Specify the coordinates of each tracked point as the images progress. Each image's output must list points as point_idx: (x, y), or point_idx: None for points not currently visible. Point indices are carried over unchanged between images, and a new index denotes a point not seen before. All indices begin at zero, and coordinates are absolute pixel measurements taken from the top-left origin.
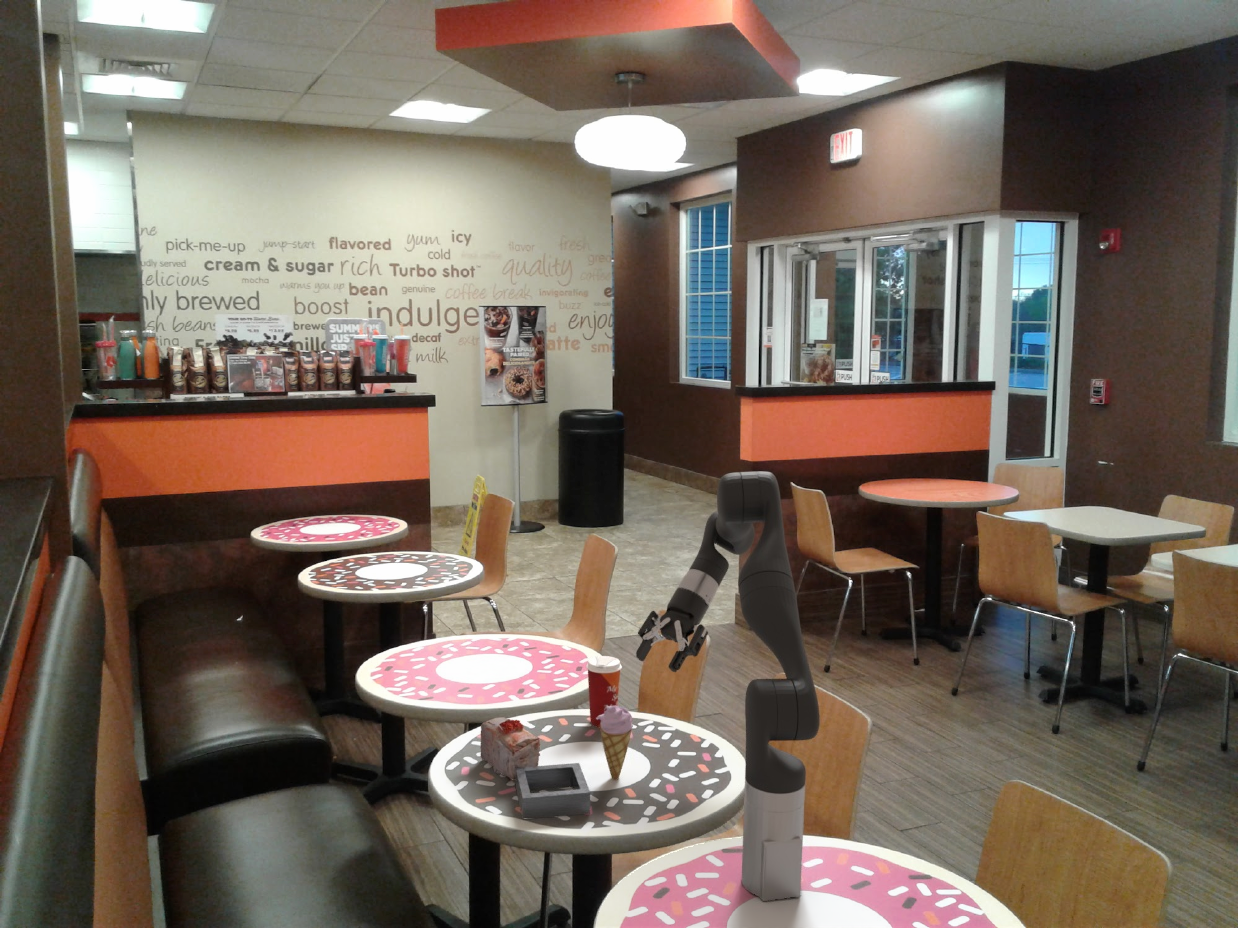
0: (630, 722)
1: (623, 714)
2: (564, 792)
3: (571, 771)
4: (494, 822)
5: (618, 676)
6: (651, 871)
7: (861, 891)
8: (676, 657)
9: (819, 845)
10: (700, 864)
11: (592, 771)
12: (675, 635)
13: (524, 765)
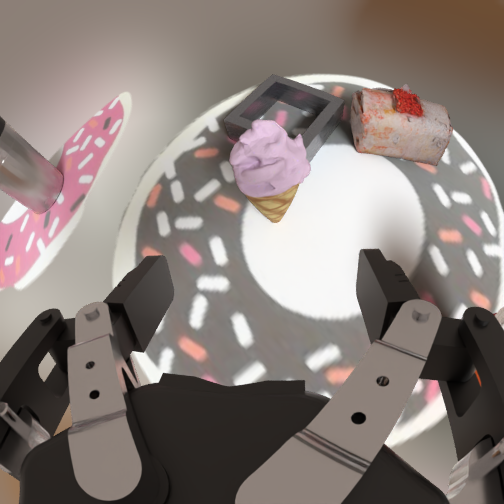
0: (234, 172)
1: (240, 148)
2: (248, 102)
3: None
4: (290, 78)
5: (475, 373)
6: (122, 130)
7: (8, 235)
8: (125, 282)
9: (30, 269)
10: (93, 165)
11: (317, 208)
12: (146, 386)
13: (351, 116)
